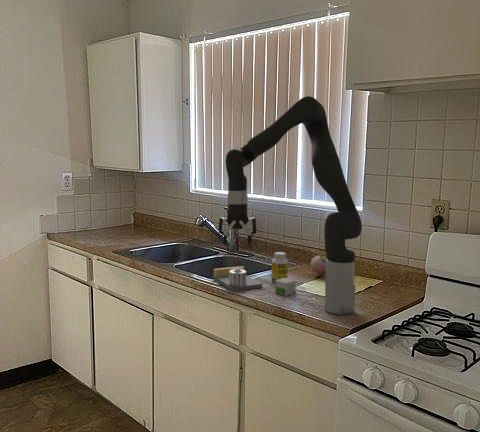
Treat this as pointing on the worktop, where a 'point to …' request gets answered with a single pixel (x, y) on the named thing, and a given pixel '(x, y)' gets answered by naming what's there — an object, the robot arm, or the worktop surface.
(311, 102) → the robot arm
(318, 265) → the decorative fruit
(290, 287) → the small box
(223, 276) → the carrier
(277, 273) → the pill bottle
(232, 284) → the planet gear
